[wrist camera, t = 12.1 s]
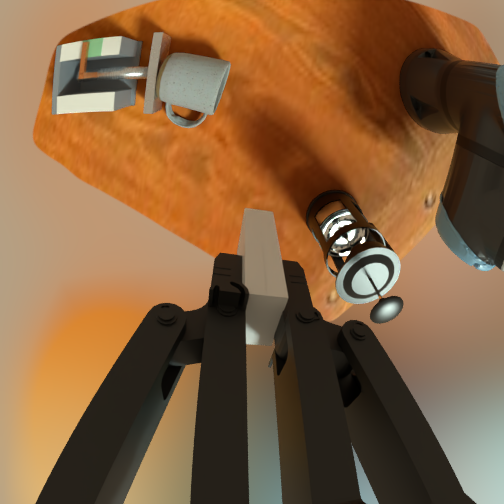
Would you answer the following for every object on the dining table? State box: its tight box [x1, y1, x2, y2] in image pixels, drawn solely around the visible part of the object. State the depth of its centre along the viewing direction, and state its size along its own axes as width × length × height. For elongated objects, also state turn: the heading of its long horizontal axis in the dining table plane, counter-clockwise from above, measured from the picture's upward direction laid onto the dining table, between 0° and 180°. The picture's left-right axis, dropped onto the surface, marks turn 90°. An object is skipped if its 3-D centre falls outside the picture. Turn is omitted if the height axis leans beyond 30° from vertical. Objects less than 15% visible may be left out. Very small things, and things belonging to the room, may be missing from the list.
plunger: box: [76, 32, 171, 114], centre depth 28 cm, size 12×11×7 cm
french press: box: [306, 190, 403, 324], centre depth 38 cm, size 12×9×23 cm
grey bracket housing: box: [52, 36, 143, 114], centre depth 29 cm, size 10×10×7 cm
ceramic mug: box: [156, 53, 231, 128], centre depth 32 cm, size 11×8×8 cm
